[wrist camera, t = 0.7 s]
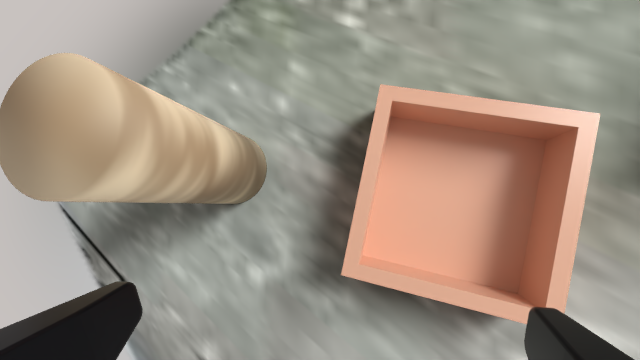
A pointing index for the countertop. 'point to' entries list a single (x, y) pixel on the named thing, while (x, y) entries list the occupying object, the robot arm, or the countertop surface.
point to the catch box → (471, 200)
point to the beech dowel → (117, 141)
